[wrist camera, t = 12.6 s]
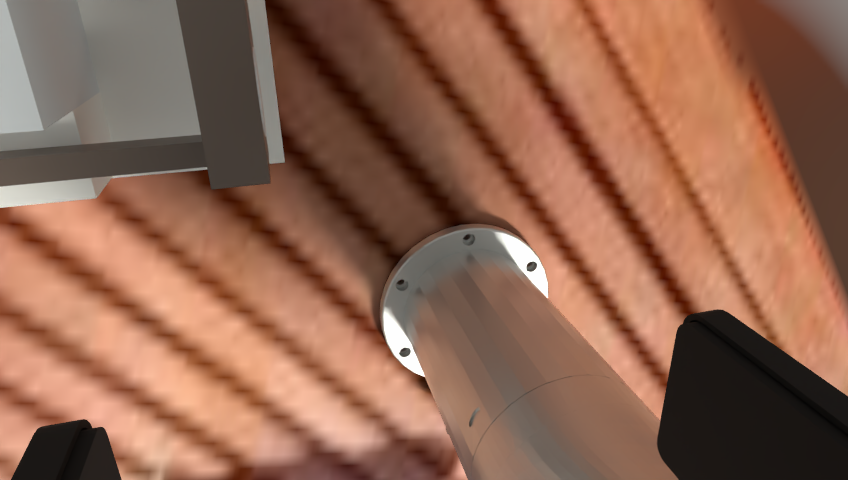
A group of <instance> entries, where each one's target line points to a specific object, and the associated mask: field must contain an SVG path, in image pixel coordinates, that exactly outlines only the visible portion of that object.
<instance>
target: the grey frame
mask: <svg viewBox="0 0 848 480" xmlns="http://www.w3.org/2000/svg"><path fill="white" fill-rule="evenodd" d="M176 4H177V9H178V15H179V20H180V25H181V31H182V36H183V41H184V47H185V52H186V57H187V63H188V68H189V73H190V79H191V84H192V89H193V95H194V100H195V105H196V111H197V116H198V121H199V127H200V132H201V135H190V136H178V137H166V138H154V139H142V140H130V141H118V142H106V143H94V144H82V145H70V146H58V147H46V148H34V149H22V150H10V151H0V187H2V186H12V185H23V184H33V183H44V182H54V181H65V180H75V179H86V178H96V177H107V176H117V175H128V174H138V173H149V172H159V171H170V170H180V169H191V168H201V167H207V169H208V175H209V180H210V185H211V189H221V188H230V187H240V186H250V185H259V184H269V183H270V167H269V152H268V144H267V137H266V128H265V120H264V112H263V104H262V96H261V89H260V82H259V75H258V68H257V62H256V55H255V50H254V45H253V38H252V31H251V24H250V17H249V10H248V2H247V0H176Z"/></svg>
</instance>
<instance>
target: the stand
mask: <svg viewBox="0 0 848 480" xmlns="http://www.w3.org/2000/svg"><path fill="white" fill-rule="evenodd" d="M247 2H248V10H249V17H250V24H251V31H252V38H253V45H254V50H255V55H256V62H257V68H258V75H259V82H260V89H261V96H262V104H263V112H264V120H265V128H266V137H267V144H268V152H269V164H273V163H284V162H285V159H284V151H283V143H282V135H281V127H280V119H279V111H278V103H277V95H276V87H275V79H274V71H273V63H272V55H271V46H270V38H269V30H268V22H267V14H266V6H265V0H247ZM190 135H201V132H200V127H199V121H198V116H197V111H196V105H195V100H194V95H193V89H192V84H191V79H190V73H189V68H188V63H187V57H186V52H185V47H184V41H183V36H182V31H181V25H180V20H179V15H178V9H177V4H176V0H0V151H10V150H22V149H34V148H46V147H58V146H70V145H82V144H94V143H106V142H118V141H130V140H142V139H154V138H166V137H178V136H190ZM197 170H207V167H201V168H191V169H180V170H170V171H159V172H149V173H138V174H128V175H117V176H107V177H96V178H86V179H75V180H65V181H54V182H44V183H33V184H23V185H12V186H2V187H0V208H2V207H12V206H23V205H33V204H43V203H53V202H64V201H74V200H84V199H94V198H97V197H98V196H99V194H100V193H101V192H102V190H103V189H104V188H105V186H106V185H107V184H108V182H109V181H110V180H111V178H120V177H131V176H142V175H153V174H164V173H175V172H186V171H197Z"/></svg>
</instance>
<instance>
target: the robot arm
mask: <svg viewBox="0 0 848 480" xmlns="http://www.w3.org/2000/svg"><path fill="white" fill-rule="evenodd" d="M467 234H468V236H467V237H465V238H464V236H465V235H467ZM402 279H403V280H402ZM399 280H402V281H401V282H398V281H399ZM380 321H381V327H382V332H383V334H384V337H385V340H386V343H387V345H388V346H389V348H390V350H391V352H392V353H393V355H394V356H395V357H396V358H397V360H398V361H399V362H400V363H401V364H402V365H403V366H405V367H406V368H408V369H409V370H411V371H412V372H413V373H416V374H418V375H420V376H423V377H425V378H426V381H427V383H428V386H429V388H430V390H431V393H432V395H433V397H434V400H435V402H436V405H437V407H438V409H439V412H440V414H441V416H442V419H443V421H444V424H445V426H446V431H447V433H448V434H449V435H450V438H451V440H452V442H453V445H454V447H455V450H456V452H457V454H458V457H459V459H460V461H461V464H462V466H463V469H464V471H465V473H466V476H467V478H468V480H848V396H846V395H845V394H844V393H842V392H841V391H839V390H838V389H836V388H835V387H834V386H832V385H831V384H829V383H828V382H826V381H825V380H824V379H822V378H821V377H819V376H818V375H816V374H815V373H814V372H812V371H811V370H809V369H808V368H806V367H805V366H804V365H802V364H801V363H799V362H798V361H796V360H795V359H794V358H792V357H791V356H789V355H788V354H786V353H785V352H784V351H782V350H781V349H779V348H778V347H776V346H775V345H774V344H772V343H771V342H769V341H768V340H766V339H765V338H764V337H762V336H761V335H759V334H758V333H757V332H755V331H754V330H752V329H751V328H749V327H748V326H747V325H745V324H744V323H742V322H741V321H739V320H738V319H737V318H735V317H734V316H732V315H731V314H729V313H728V312H726V311H724V310H712V311H706V312H700V313H695V314H691V315H688V316H687V317H686V318H685V320H684V322H683V324H682V325H680V326H679V328H678V330H677V333H676V339H675V344H674V350H673V355H672V361H671V366H670V372H669V377H668V382H667V388H666V393H665V399H664V404H663V410H662V415H661V421H660V420H659V419H658V418H657V417H656V416H655V415H654V413H653V412H652V411H651V410H650V409H649V408H648V407H647V406H646V405H645V404H644V403H643V402H642V400H641V399H640V398H639V397H638V396H637V395H636V394H635V393H634V392H633V391H632V390H631V388H630V387H629V386H628V385H627V384H626V383H625V382H624V381H623V380H622V379H621V378H620V376H619V375H618V374H617V373H616V372H615V371H614V370H613V369H612V368H611V367H610V366H609V364H608V363H607V362H606V361H605V360H604V359H603V358H602V357H601V356H600V355H599V354H598V352H597V351H596V350H595V349H594V348H593V347H592V346H591V345H590V344H589V343H588V342H587V340H586V339H585V338H584V337H583V336H582V335H581V334H580V333H579V332H578V331H577V330H576V328H575V327H574V326H573V325H572V324H571V323H570V322H569V321H568V320H567V319H566V318H565V316H564V315H563V314H562V313H561V312H560V311H559V310H558V309H557V308H556V307H555V306H554V304H553V303H552V302H551V301H550V300H549V299H548V281H547V277H546V273H545V269H544V267H543V265H542V263H541V261H540V259H539V257H538V256H537V254H536V253H535V252H534V251H533V250H532V249H531V247H530V246H529V245H528V244H527V243H525V242H524V241H523V240H522V239H521V238H520V237H518V236H517V235H515V234H513V233H512V232H510V231H508V230H506V229H503V228H500V227H497V226H494V225H486V224H464V225H458V226H454V227H450V228H446V229H443V230H441V231H439V232H437V233H435V234H432V235H430V236H428V237H427V238H425V239H424V240H422V241H421V242H419V243H418V244H416V245H415V246H413V247H412V248H411V249H410V250H409V251H408V252H407V253H406V254H405V255H404V256H403V257H402V258H401V259H400V261H399V262H398V263H397V265H396V266H395V268H394V269H393V270H392V272H391V274H390V276H389V278H388V280H387V282H386V284H385V286H384V290H383V294H382V297H381V301H380ZM11 480H121V477H120V474H119V470H118V467H117V464H116V461H115V458H114V454H113V451H112V448H111V445H110V442H109V439H108V435H107V433H106V431H105V429H104V428H103V427H98V428H92V426H91V424H90V423H89V422H88V421H87V420H84V419H83V420H77V421H71V422H66V423H60V424H54V425H48V426H43V427H40V428H38V429H37V431H36V432H35V433H34V435H33V437H32V439H31V441H30V443H29V445H28V447H27V449H26V451H25V453H24V455H23V457H22V459H21V461H20V463H19V465H18V467H17V469H16V471H15V473H14V475H13V477H12V479H11Z"/></svg>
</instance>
